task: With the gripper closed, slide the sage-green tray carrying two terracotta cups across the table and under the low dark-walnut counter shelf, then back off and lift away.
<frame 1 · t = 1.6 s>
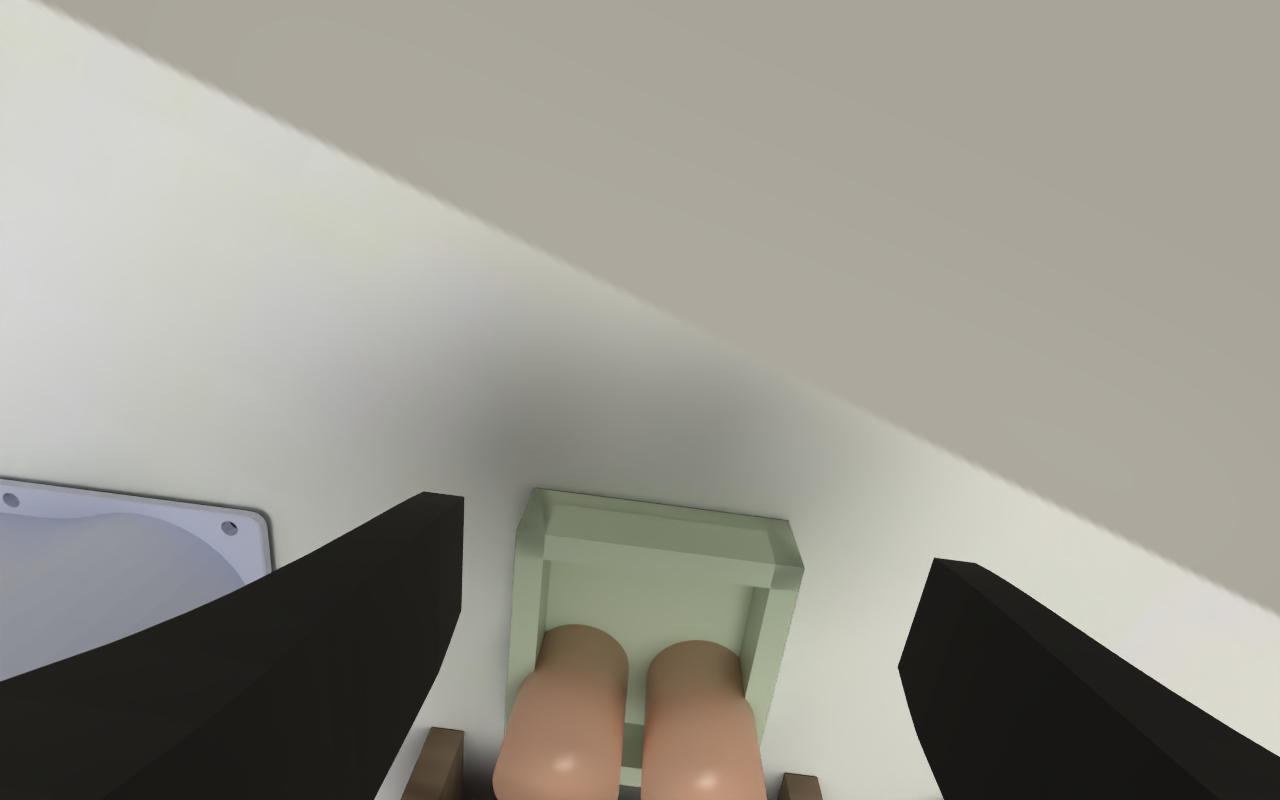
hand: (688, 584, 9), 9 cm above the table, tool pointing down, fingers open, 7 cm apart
tray: (644, 621, 21), on the table
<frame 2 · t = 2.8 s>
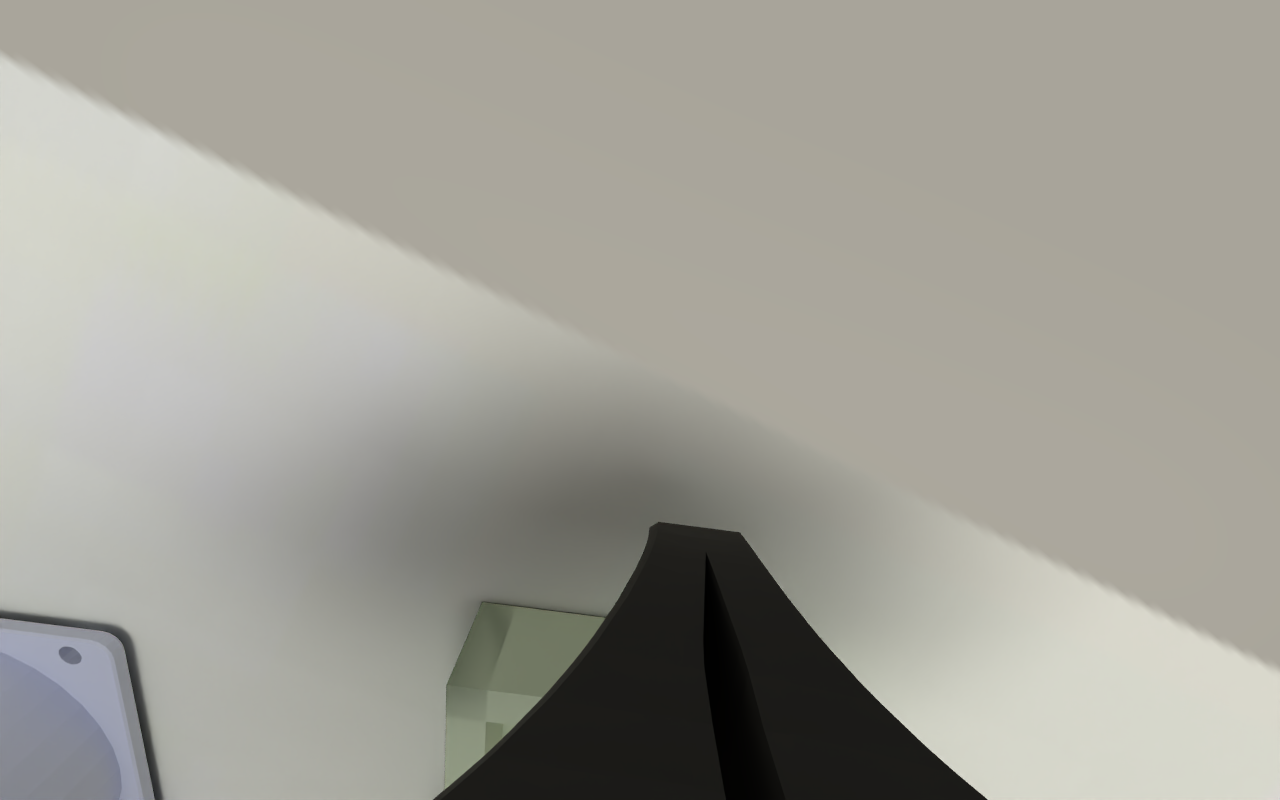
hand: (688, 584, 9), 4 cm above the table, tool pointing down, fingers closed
tray: (631, 766, 16), on the table
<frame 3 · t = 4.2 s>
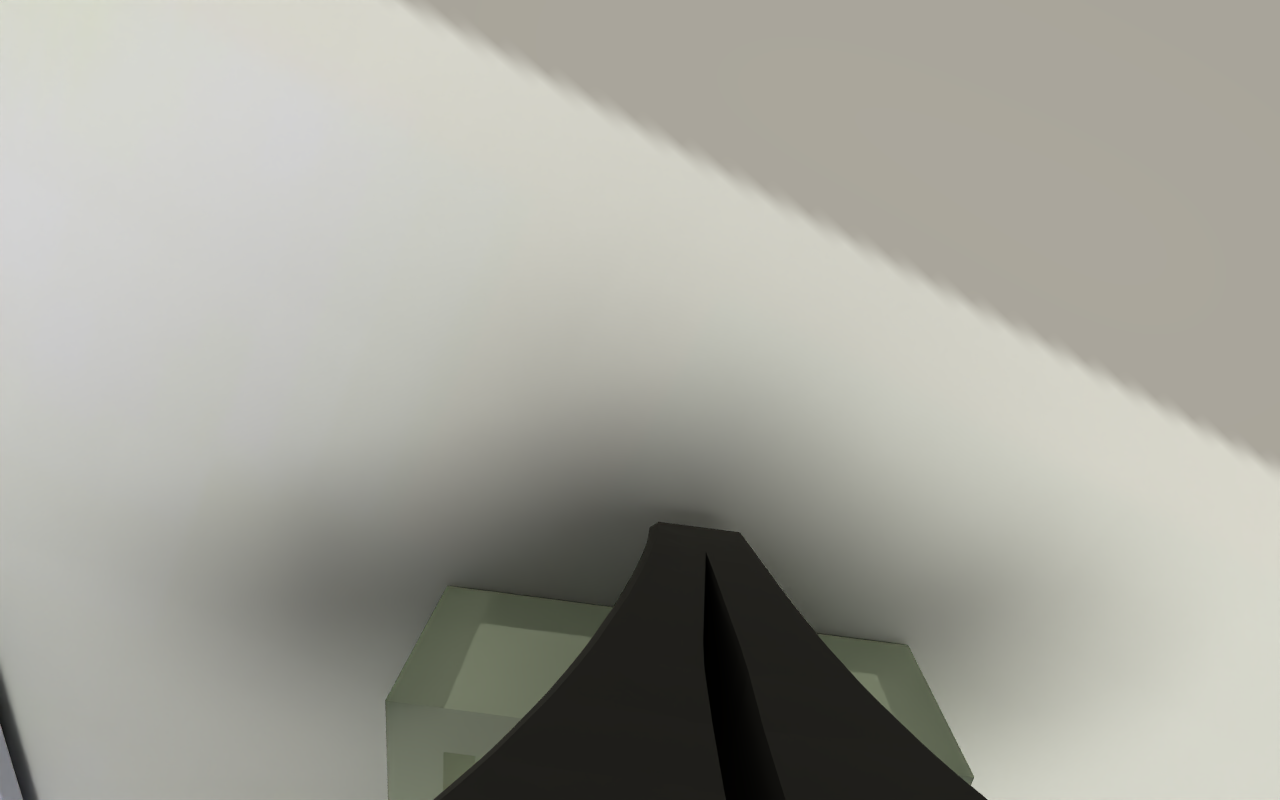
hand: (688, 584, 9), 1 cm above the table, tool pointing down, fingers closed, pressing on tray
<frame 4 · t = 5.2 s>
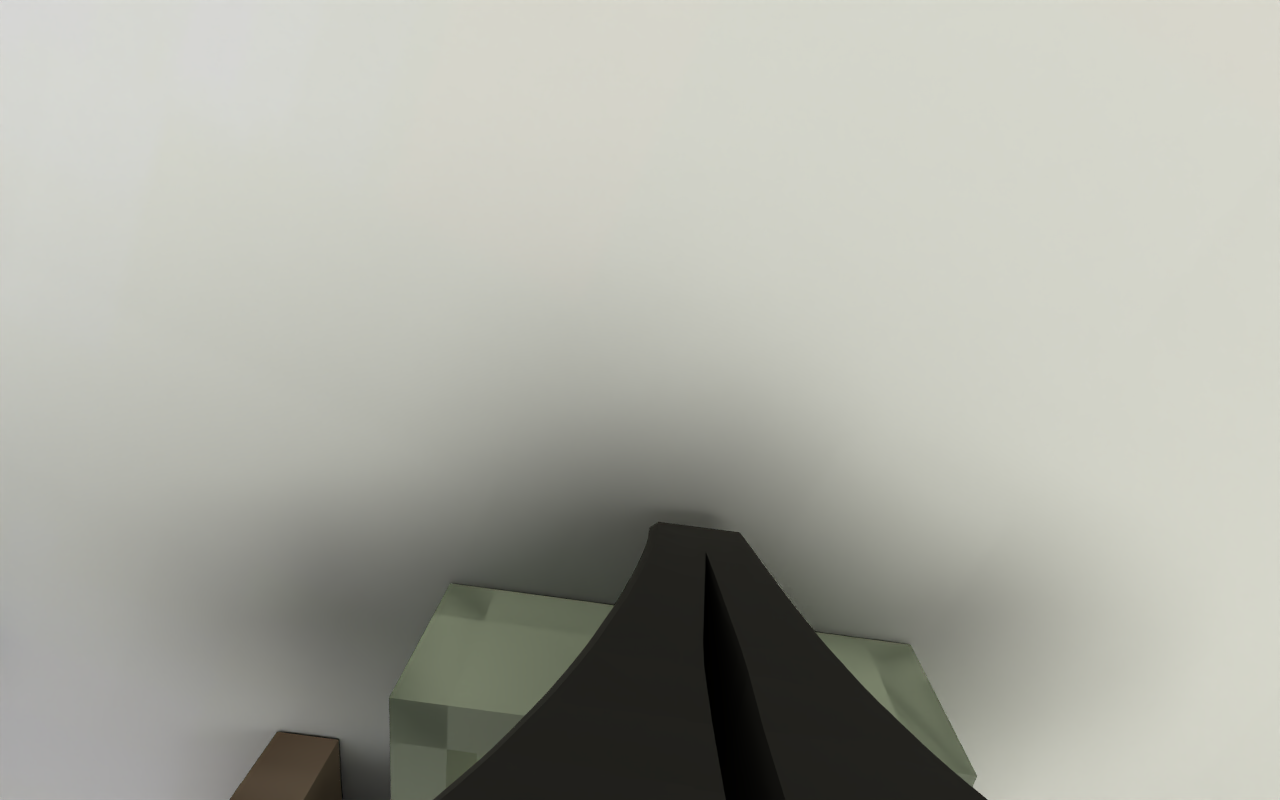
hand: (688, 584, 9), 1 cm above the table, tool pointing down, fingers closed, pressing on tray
tray: (646, 799, 12), on the table, touching gripper
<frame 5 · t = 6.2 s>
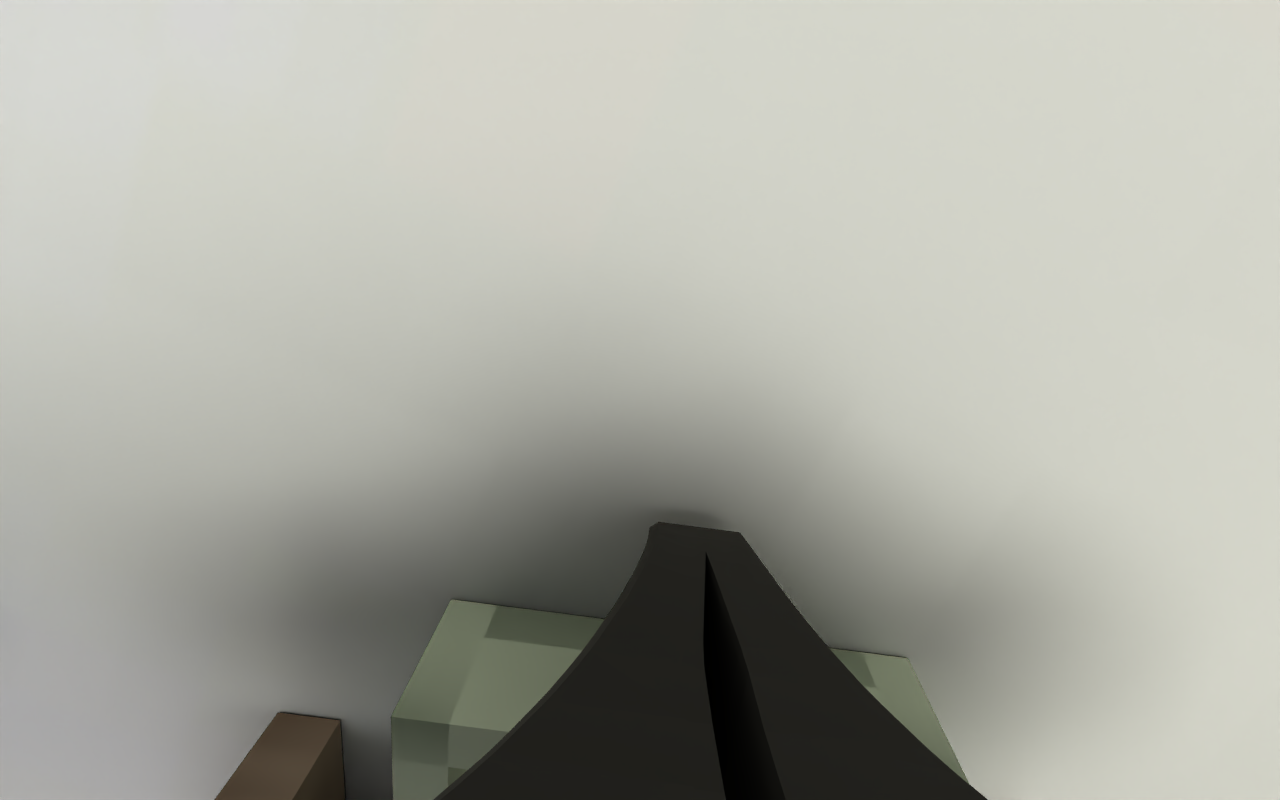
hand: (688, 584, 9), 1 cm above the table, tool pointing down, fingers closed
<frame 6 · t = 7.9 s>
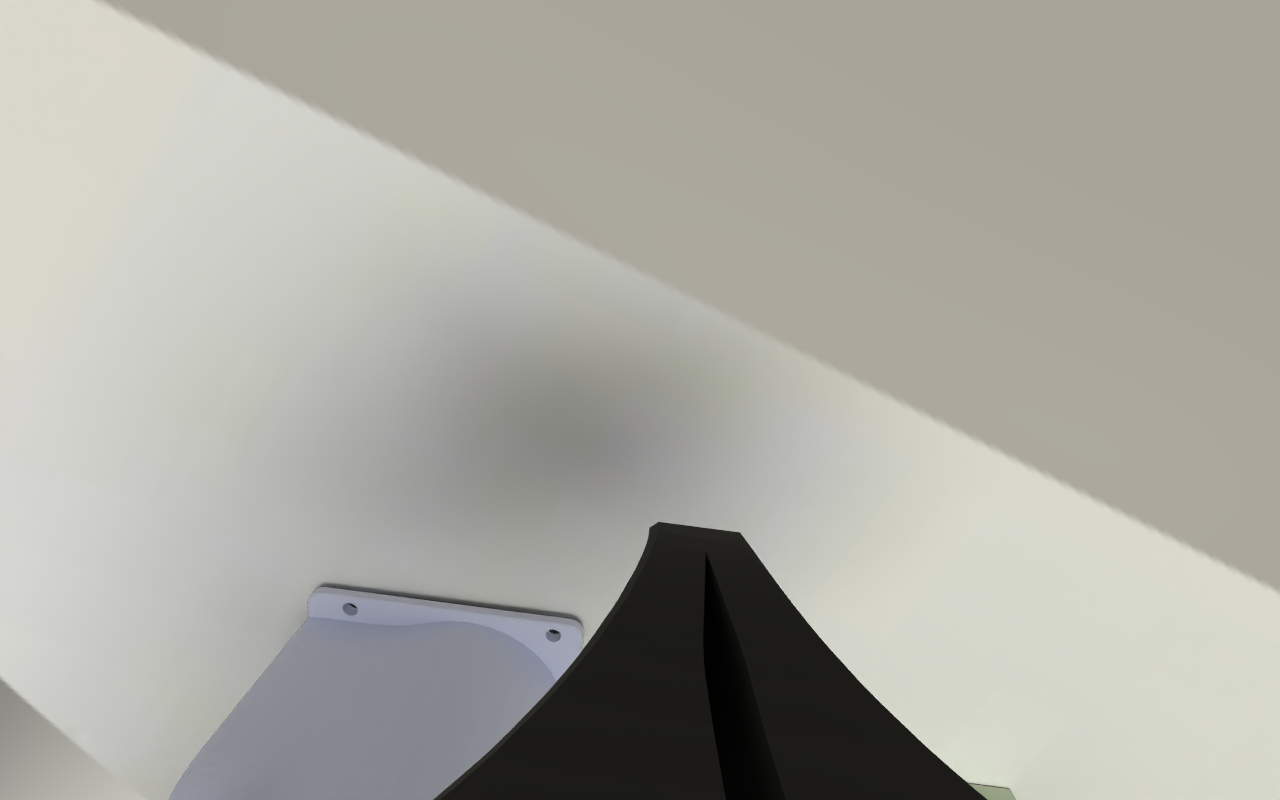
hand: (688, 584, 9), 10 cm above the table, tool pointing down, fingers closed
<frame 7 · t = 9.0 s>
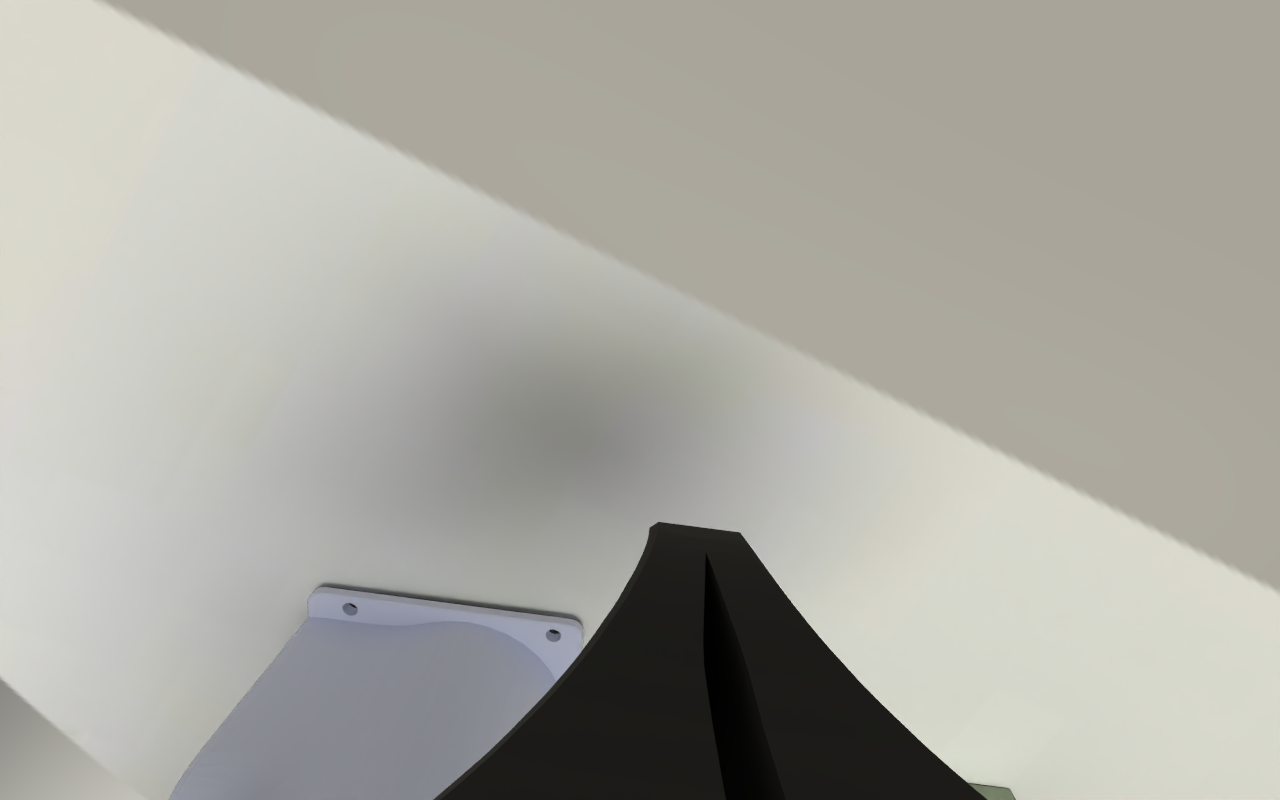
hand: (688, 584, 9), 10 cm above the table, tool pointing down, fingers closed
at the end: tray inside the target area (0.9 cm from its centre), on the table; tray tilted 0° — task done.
